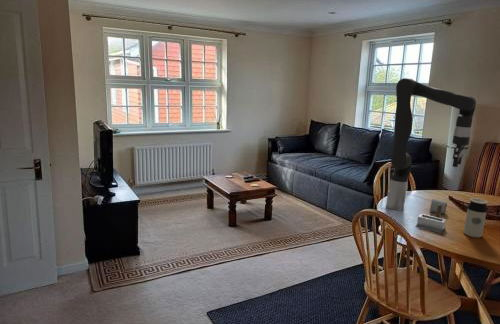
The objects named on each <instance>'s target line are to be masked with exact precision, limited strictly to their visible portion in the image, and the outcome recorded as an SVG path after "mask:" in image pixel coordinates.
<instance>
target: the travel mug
mask: <svg viewBox="0 0 500 324" xmlns="http://www.w3.org/2000/svg"><path fill="white" fill-rule="evenodd" d="M488 203H489V202H488V201H487V200H486V199H483V198H477V197H472V198H469V204H468V205H467V210H466V217H465V222H464V228H463V234H465V235H466V236H468V237H472V238H481V237H482V236H483V232H484V227H485V222H486V217H487V212H488V207H487V205H488Z"/></svg>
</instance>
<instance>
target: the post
mask: <svg viewBox="0 0 500 324" xmlns="http://www.w3.org/2000/svg"><path fill="white" fill-rule="evenodd" d="M441 209H442V205H438V208H437V213H436V214H435V217H438V218H441V215H442V214H441Z"/></svg>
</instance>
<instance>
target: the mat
mask: <svg viewBox="0 0 500 324" xmlns="http://www.w3.org/2000/svg"><path fill="white" fill-rule="evenodd" d="M415 227H416V228H421V229H424V230H428V231H432V232H437V233H440V234H441V233H442V232H443V231H440V230H436V229H433V228H429V227H425V226H421V225H417V224H415Z"/></svg>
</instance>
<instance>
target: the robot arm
mask: <svg viewBox="0 0 500 324" xmlns="http://www.w3.org/2000/svg"><path fill="white" fill-rule="evenodd" d="M395 91H396V93H395V94H396V108H395V114H394V115H395V118H394V127H393V128H394V129H393V130H394V131H393V132H394V134H393V147H392V153H391V158H390V164H391V166H392V168H394V169H393V172H392V173H391V175H390V182H389V189H388V191H387V196H386V205H385V208H389V209H390V210H394V211H402V210H404V209H405V202H406V196H407V195H406V194H407V189H408V188H407V187H408V182H409V181H408V180H409V177H410V175H411V169H412V163H413V160H412V156H411V155H410V154H409V153H407V147H408V142H409V140H410V137H411V134H412V129H413V119H414V118H413V113H412V107H411V106H412V105H411V101H412V100H411V99H412V96H417V97H421V98H426V99H428V100H429V101H433V102H434V103H435V102H436V103H439V104H441V105H446V106H449V107H453V108H455V109H458V110H459V111H458V116H457V117H456V121H455V126H454V127H455V128H454V130H453V137H452V144H454V145H456V146H455V147H454V148H453V155H452V159H453V161H452V162H453V163H452V167H454V168H458V166H459V165H462V159H463V157H464V154H465V148H466V146H469V143H470V140H471V139H470V138H471V134H472V133H471V132H472V123H473V118H474V114H475V110H476V106H477V101H476V98H474V97H473V96H469V95H468V96H466V95H462V94H457V93H455V92H453V91H449V90H446V89H441V88H438V87H434V86H430V85H429V86H428V85H426V84H423V83H421V82H418V81H416V80H414V79H413V78H408V77H404V78H401V79H399V80H398V81H397V83H396V87H395Z"/></svg>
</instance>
